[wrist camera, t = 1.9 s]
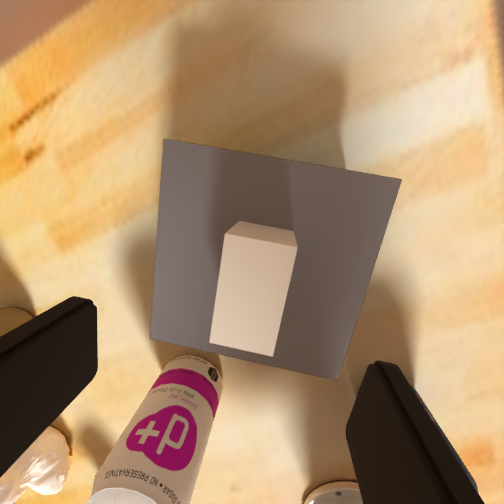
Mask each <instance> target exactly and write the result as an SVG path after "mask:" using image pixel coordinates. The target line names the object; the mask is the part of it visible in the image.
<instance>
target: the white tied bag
mask: <svg viewBox="0 0 504 504" xmlns="http://www.w3.org/2000/svg"><path fill="white" fill-rule="evenodd" d="M69 452H70V449H69V447H68V445H67V442H66V438H65V436H64V435H62V434H61V433H60V431H59V430H56V429H54V428H53V427H51V426H48V428H47V429H46V430H45V431H44V432H43V433H42V434H41V435H40V436H39V437H38V438H37V439H36V440H35V441H34V442H33V444H32V445H31V446H30V447H29V448H28V449H27V450H26V451H25V452H24V453H23V454H22V455H21V456H20V457H19V458H18V460H17V461H16V462H15V463H14V464H13V465H12V466H11V467H10V468H9V469H8V470H7V471H6V472H5V473H4V475H2V477H1V478H0V504H16V500H17V499H18V498H19V496H20V495H21V494H22V493H24V492H25V491H26V488H22V487H24V486H29V487H30V488H32V489H33V490H34V491H37V492H38V493H40V494H43V495H50V494H55V493H58V492H59V491H60V490H62V488H63V486H64V484H65V482H66V478H67V475H68V472H69V469H70V466H71V460H70V457H69Z"/></svg>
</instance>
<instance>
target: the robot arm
mask: <svg viewBox="0 0 504 504" xmlns="http://www.w3.org/2000/svg"><path fill="white" fill-rule="evenodd" d="M97 368H98V357H97V307H96V306H95V305H94V304H93V301H92V300H90V299H85V298H80V297H76V296H73V297H70V298H68V299H66V300H65V301H63V302H61V303H59V304H58V305H56V306H54V307H52V308H50V309H49V310H47V311H45V312H43V313H42V314H40V315H38V316H36V317H34V318H33V319H31V320H29V321H27V322H26V323H24V324H22V325H20V326H18V327H17V328H15V329H13V330H11V331H10V332H8V333H6V334H4V335H2V336H1V337H0V478H1V477H2V475H3V474H4V473H5V472H6V471H7V470H8V469H9V468H10V467H11V466H12V465H13V464H14V463H15V462H16V461H17V460H18V458H19V457H20V456H21V455H22V454H23V453H24V452H25V451H26V450H27V449H28V448H29V447H30V446H31V445H32V444H33V442H34V441H35V440H36V439H37V438H38V437H39V436H40V435H41V434H42V433H43V432H44V431H45V430H46V429H47V428H48V426H49V425H50V424H51V423H52V422H53V421H54V420H55V419H56V418H57V417H58V416H59V415H60V414H61V413H62V412H63V410H64V409H65V408H66V407H67V406H68V405H69V404H70V403H71V402H72V401H73V400H74V399H75V398H76V397H77V396H78V395H79V393H80V392H81V391H82V390H83V389H84V388H85V387H86V386H87V385H88V384H89V383H90V382H91V381H92V379H93V378H94V377H95V375H96V373H97ZM346 439H347V443H348V447H349V450H350V454H351V458H352V462H353V466H354V470H355V474H356V478H357V482H358V483H356V482H348V481H341V482H332V483H328V484H325V485H322V486H320V487H318V488H316V489H315V490H314V491H313V492H311V493H310V494H309V496H308V497H307V498H306V501H305V503H304V504H484V502H483V500H482V499H481V497H480V496H479V494H478V492H477V491H476V489H475V488H474V486H473V485H472V483H471V481H470V480H469V478H468V477H467V475H466V473H465V472H464V470H463V469H462V467H461V465H460V464H459V462H458V461H457V459H456V458H455V456H454V454H453V453H452V451H451V450H450V448H449V446H448V445H447V443H446V442H445V440H444V438H443V437H442V435H441V434H440V432H439V431H438V429H437V427H436V426H435V424H434V423H433V421H432V419H431V418H430V416H429V415H428V413H427V411H426V410H425V408H424V407H423V405H422V403H421V402H420V400H419V399H418V397H417V396H416V394H415V392H414V391H413V389H412V388H411V386H410V384H409V383H408V381H407V380H406V378H405V376H404V375H403V373H402V372H401V370H400V369H399V367H398V366H397V365H395V364H392V363H387V362H382V361H376V362H375V363H374V364H370V365H369V366H368V368H367V371H366V373H365V376H364V379H363V381H362V384H361V387H360V390H359V392H358V395H357V398H356V400H355V403H354V406H353V409H352V411H351V414H350V417H349V419H348V422H347V425H346Z"/></svg>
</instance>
